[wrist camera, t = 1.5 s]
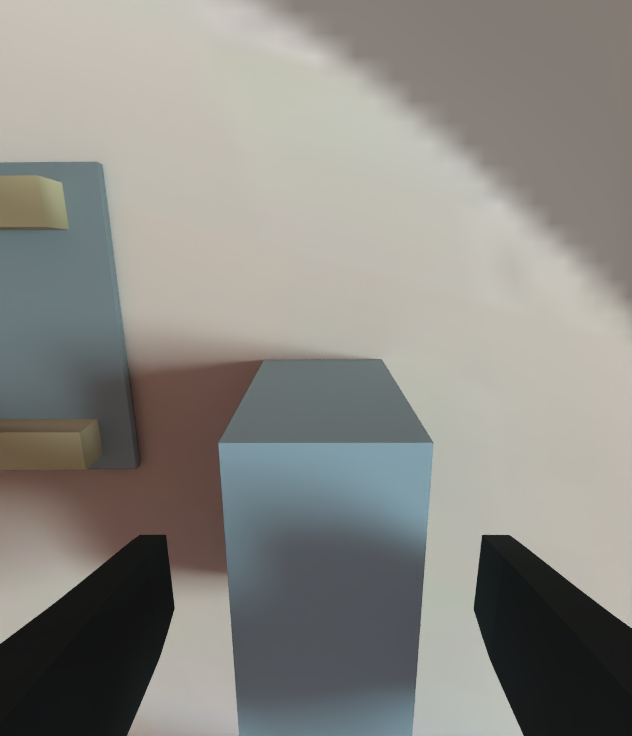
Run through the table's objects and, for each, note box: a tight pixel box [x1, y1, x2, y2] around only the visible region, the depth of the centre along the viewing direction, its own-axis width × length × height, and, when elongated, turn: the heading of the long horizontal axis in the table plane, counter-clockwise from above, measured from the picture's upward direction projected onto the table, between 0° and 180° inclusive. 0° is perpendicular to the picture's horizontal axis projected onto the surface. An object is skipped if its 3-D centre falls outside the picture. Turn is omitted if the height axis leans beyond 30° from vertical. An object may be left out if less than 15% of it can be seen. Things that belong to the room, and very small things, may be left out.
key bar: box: [218, 359, 433, 736], centre depth 11 cm, size 8×4×6 cm, turn 0°
